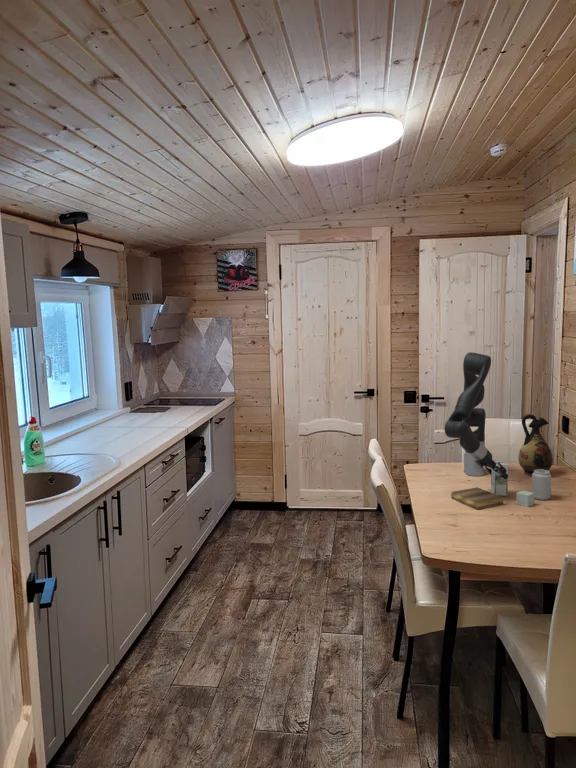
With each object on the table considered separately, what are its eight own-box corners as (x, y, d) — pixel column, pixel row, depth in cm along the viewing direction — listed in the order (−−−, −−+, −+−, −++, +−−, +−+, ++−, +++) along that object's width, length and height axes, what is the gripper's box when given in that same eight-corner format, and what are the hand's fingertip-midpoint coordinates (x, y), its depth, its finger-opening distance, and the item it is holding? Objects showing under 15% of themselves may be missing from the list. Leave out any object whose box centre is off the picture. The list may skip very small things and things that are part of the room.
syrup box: (504, 492, 249) (504, 460, 247) (507, 496, 243) (508, 464, 241) (490, 492, 249) (491, 460, 247) (494, 496, 243) (494, 464, 242)
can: (550, 496, 241) (551, 469, 240) (550, 501, 234) (551, 473, 233) (532, 494, 244) (532, 467, 243) (531, 499, 238) (532, 472, 236)
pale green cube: (516, 504, 233) (516, 492, 232) (522, 501, 236) (523, 490, 235) (527, 507, 229) (527, 495, 228) (534, 504, 232) (534, 493, 231)
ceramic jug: (546, 470, 280) (548, 411, 276) (556, 478, 265) (557, 417, 261) (511, 469, 283) (512, 411, 279) (518, 478, 268) (519, 417, 264)
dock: (451, 498, 242) (451, 491, 242) (477, 493, 248) (477, 487, 247) (476, 509, 228) (476, 502, 227) (503, 504, 233) (503, 497, 232)
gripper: (495, 449, 234) (516, 472, 239) (472, 443, 247) (493, 465, 252) (485, 463, 232) (506, 486, 238) (463, 456, 245) (483, 477, 251)
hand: (499, 475), depth 245 cm, fingers open, 8 cm apart
